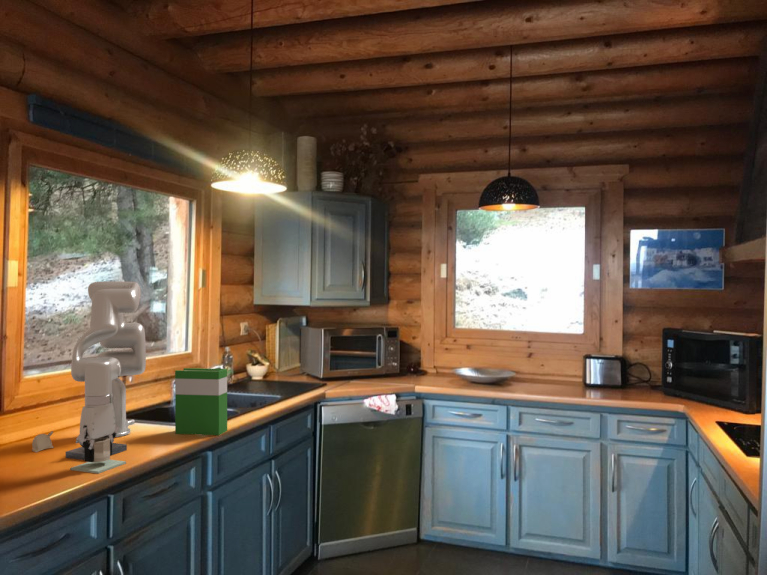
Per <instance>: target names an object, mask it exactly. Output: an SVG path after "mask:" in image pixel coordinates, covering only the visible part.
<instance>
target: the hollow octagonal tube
mask: <svg viewBox="0 0 767 575" xmlns="http://www.w3.org/2000/svg"><path fill="white" fill-rule="evenodd" d="M88 443H90V441H89V442H88ZM92 449H94V462H103V461H106V460H111V456H110V438H106V437H101V438H98V439H95V441H94V444H93V447H92ZM94 462H93V463H94Z"/></svg>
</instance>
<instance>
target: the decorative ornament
mask: <svg viewBox="0 0 767 575" xmlns="http://www.w3.org/2000/svg"><path fill="white" fill-rule="evenodd" d="M53 433H54V431H53V430H52V431H50V432H48V433H47V434H46V433H40V434H37V435H36V436H34V438H33V440H32V443H31V445H32V449H31V451H32V452H34V453H39V452H40V451H43V450H46V449H53V448H54V446H53V442H52V439H51V436H52V435H53Z"/></svg>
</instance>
